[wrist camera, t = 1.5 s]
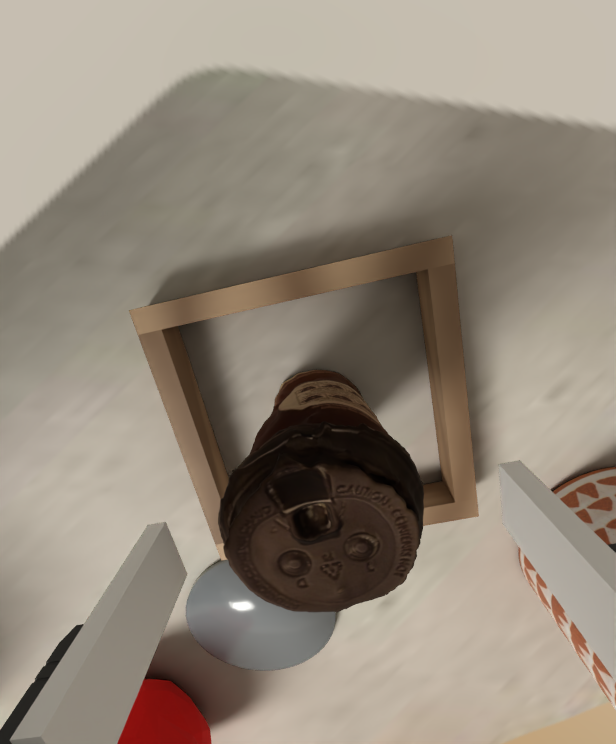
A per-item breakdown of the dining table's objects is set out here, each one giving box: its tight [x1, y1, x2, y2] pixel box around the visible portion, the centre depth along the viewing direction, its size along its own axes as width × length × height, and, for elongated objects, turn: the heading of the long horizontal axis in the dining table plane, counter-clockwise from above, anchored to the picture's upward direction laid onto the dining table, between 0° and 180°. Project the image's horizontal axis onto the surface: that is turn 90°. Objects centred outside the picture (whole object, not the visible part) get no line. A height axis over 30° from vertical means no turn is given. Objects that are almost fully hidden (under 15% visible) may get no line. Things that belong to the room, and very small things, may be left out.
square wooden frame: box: [129, 235, 479, 561], centre depth 24 cm, size 19×19×2 cm
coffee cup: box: [218, 370, 424, 612], centre depth 19 cm, size 9×8×13 cm
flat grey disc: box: [186, 560, 335, 671], centre depth 30 cm, size 13×13×1 cm
